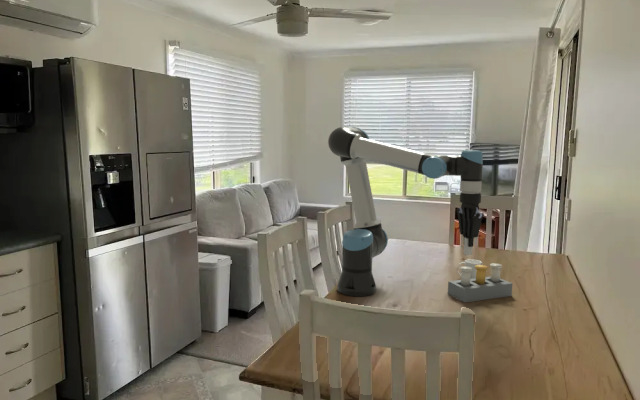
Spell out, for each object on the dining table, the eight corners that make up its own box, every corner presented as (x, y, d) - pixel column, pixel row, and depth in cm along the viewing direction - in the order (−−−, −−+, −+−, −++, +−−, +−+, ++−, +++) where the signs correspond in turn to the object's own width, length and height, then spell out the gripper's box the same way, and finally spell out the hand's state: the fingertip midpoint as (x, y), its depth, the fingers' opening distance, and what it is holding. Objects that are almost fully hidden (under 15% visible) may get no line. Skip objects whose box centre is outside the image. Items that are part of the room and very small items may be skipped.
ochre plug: (479, 285, 176) (480, 268, 175) (471, 281, 180) (472, 265, 180) (488, 284, 178) (489, 267, 177) (481, 280, 182) (482, 264, 181)
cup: (480, 283, 195) (481, 264, 193) (455, 279, 198) (456, 261, 197) (481, 278, 201) (482, 260, 200) (457, 275, 205) (458, 257, 204)
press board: (464, 302, 171) (464, 289, 171) (447, 293, 181) (448, 281, 180) (511, 295, 179) (512, 283, 178) (493, 287, 188) (494, 275, 188)
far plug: (494, 283, 179) (495, 266, 178) (486, 280, 183) (487, 263, 182) (503, 282, 180) (504, 265, 179) (495, 279, 184) (496, 262, 184)
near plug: (464, 287, 174) (465, 270, 173) (456, 283, 178) (457, 267, 177) (473, 286, 175) (474, 269, 175) (466, 282, 180) (467, 266, 179)
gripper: (491, 193, 167) (487, 257, 170) (467, 190, 179) (465, 249, 182) (473, 194, 165) (471, 259, 168) (451, 190, 177) (449, 251, 180)
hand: (467, 254), depth 175 cm, fingers closed
